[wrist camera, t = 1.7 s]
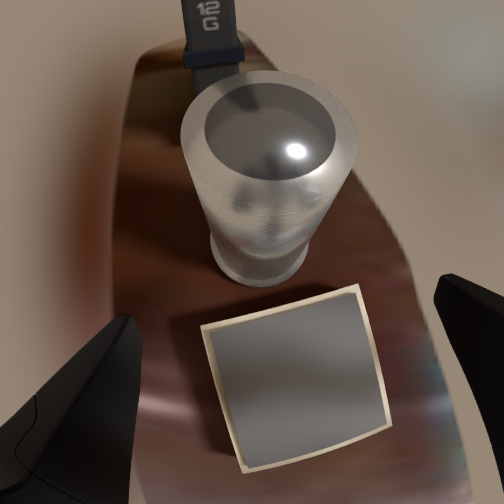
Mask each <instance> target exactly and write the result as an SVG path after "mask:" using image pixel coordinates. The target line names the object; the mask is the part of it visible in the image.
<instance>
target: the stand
mask: <svg viewBox="0 0 504 504" xmlns="http://www.w3.org/2000/svg"><path fill="white" fill-rule="evenodd" d="M200 327H201V332H202V336H203V340H204V344H205V348H206V352H207V356H208V360H209V363H210V367H211V371H212V375H213V378H214V382H215V386H216V389H217V393H218V396H219V400H220V403H221V407H222V410H223V414H224V417H225V420H226V424H227V427H228V430H229V433H230V437H231V440H232V443H233V446H234V449H235V452H236V455H237V458H238V461H239V464H240V467H241V470H242V473H243V474H244V473H249V472H255V471H259V470H264V469H268V468H273V467H277V466H281V465H285V464H289V463H292V462H296V461H300V460H303V459H306V458H310V457H313V456H316V455H319V454H322V453H325V452H328V451H331V450H334V449H337V448H340V447H342V446H345V445H348V444H350V443H353V442H356V441H358V440H361V439H363V438H365V437H368V436H370V435H373V434H375V433H377V432H379V431H382V430H384V429H386V428H388V427H390V426H392V422H391V416H390V411H389V406H388V400H387V395H386V391H385V386H384V381H383V377H382V372H381V368H380V363H379V359H378V355H377V351H376V347H375V343H374V339H373V335H372V331H371V327H370V324H369V320H368V316H367V313H366V309H365V306H364V302H363V299H362V295H361V292H360V289H359V285H358V284H355V285H352V286H348V287H345V288H342V289H338V290H335V291H332V292H328V293H325V294H322V295H318V296H315V297H311V298H308V299H304V300H301V301H297V302H293V303H290V304H286V305H282V306H279V307H275V308H271V309H267V310H263V311H260V312H256V313H252V314H248V315H244V316H240V317H236V318H231V319H227V320H223V321H219V322H214V323H210V324H206V325H201V326H200Z"/></svg>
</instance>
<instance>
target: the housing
mask: <svg viewBox="0 0 504 504" xmlns="http://www.w3.org/2000/svg"><path fill="white" fill-rule="evenodd" d="M180 136H181V145H182V149H183V153H184V156H185V159H186V162H187V165H188V168H189V171H190V173H191V176H192V179H193V182H194V185H195V188H196V191H197V194H198V197H199V199H200V202H201V205H202V208H203V211H204V214H205V216H206V219H207V222H208V225H209V228H210V230H211V236H210V243H211V249H212V253H213V256H214V258H215V260H216V262H217V264H218V266H219V267H220V269H221V270H222V271H223V273H224V274H225V275H226V276H228V277H229V278H230V279H231V280H233V281H234V282H236V283H238V284H240V285H243V286H246V287H251V288H269V287H273V286H276V285H279V284H281V283H283V282H285V281H286V280H288V279H289V278H290V277H292V276H293V275H294V274H295V273H296V271H297V270H298V269H299V268H300V266H301V264H302V263H303V261H304V259H305V257H306V254H307V251H308V245H309V240H310V239H311V237H312V235H313V234H314V232H315V230H316V229H317V227H318V225H319V224H320V222H321V220H322V219H323V217H324V215H325V214H326V212H327V210H328V209H329V207H330V205H331V203H332V202H333V200H334V198H335V197H336V195H337V193H338V191H339V190H340V188H341V186H342V184H343V183H344V181H345V179H346V177H347V176H348V174H349V172H350V170H351V169H352V167H353V165H354V162H355V159H356V157H357V152H358V135H357V130H356V127H355V123H354V121H353V119H352V117H351V115H350V113H349V112H348V110H347V109H346V107H345V106H344V105H343V104H342V103H341V102H340V100H339V99H338V98H336V97H335V96H334V95H333V94H332V93H331V92H329V91H328V90H326V89H325V88H324V87H322V86H320V85H319V84H317V83H315V82H313V81H311V80H309V79H306V78H303V77H301V76H298V75H294V74H290V73H285V72H279V71H250V72H244V73H239V74H236V75H232V76H229V77H227V78H224V79H222V80H220V81H218V82H216V83H214V84H212V85H211V86H209V87H208V88H206V89H205V90H204V91H203V92H201V93H200V94H199V95H198V96H197V97H196V98H195V100H194V101H193V102H192V103H191V105H190V106H189V108H188V109H187V111H186V113H185V116H184V118H183V121H182V125H181V134H180Z"/></svg>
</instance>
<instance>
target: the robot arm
mask: <svg viewBox="0 0 504 504" xmlns="http://www.w3.org/2000/svg"><path fill="white" fill-rule="evenodd" d="M434 304H435V307H436V309H437V311H438V314H439V316H440V318H441V321H442V324H443V326H444V329H445V331H446V334H447V336H448V339H449V341H450V344H451V346H452V348H453V350H454V352H455V354H456V356H457V358H458V360H459V363H460V365H461V367H462V369H463V372H464V374H465V376H466V378H467V381H468V383H469V385H470V388H471V390H472V393H473V395H474V398H475V400H476V403H477V405H478V408H479V410H480V413H481V416H482V419H483V421H484V424H485V427H486V430H487V433H488V436H489V439H490V442H491V445H492V449H493V453H494V456H495V460H496V463H497V467H498V471H499V475H500V479H501V483H502V488H503V492H504V297H503V296H501V295H499V294H497V293H494V292H492V291H490V290H488V289H486V288H484V287H482V286H479V285H477V284H475V283H473V282H471V281H468V280H466V279H464V278H462V277H459V276H457V275H454V274H451V273H450V274H445V275H442V276H441V277H440V278H439V282H438V284H437V288H436V291H435V294H434ZM141 359H142V336H141V334H140V331H139V329H138V327H137V324H136V322H135V319H134V317H133V316H132V315H130V314H124V315H117V316H116V317H115V318H114V319H113V320H111V321H110V322H109V323H108V324H107V325H106V326H105V327H104V328H103V329H102V330H101V331H100V332H99V333H98V334H96V335H95V336H94V337H93V338H92V339H91V340H90V341H89V342H88V343H87V344H86V345H85V346H84V347H82V348H81V349H80V350H79V351H78V352H77V353H76V354H75V355H74V356H73V357H72V358H71V359H70V360H69V361H68V362H67V363H66V364H65V365H64V366H63V367H62V368H61V369H60V370H59V371H58V372H57V373H56V374H54V376H52V377H51V378H50V379H49V380H48V381H47V382H46V383H45V384H44V385H43V386H42V387H41V388H40V389H39V391H37V392H36V395H33V396H32V397H31V399H29V400H28V401H27V403H26V404H24V405H23V406H22V407H21V408H20V410H18V411H17V412H16V413H15V414H14V415H13V416H12V417H11V418H10V419H9V420H8V421H7V422H6V423H5V424H3V425H2V426H1V427H0V504H128V501H129V483H130V471H131V460H132V450H133V440H134V432H135V424H136V416H137V409H138V402H139V394H140V380H141Z"/></svg>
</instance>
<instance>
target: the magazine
mask: <svg viewBox="0 0 504 504" xmlns="http://www.w3.org/2000/svg"><path fill="white" fill-rule="evenodd" d="M181 5H182V13H183V20H184V27H185V34H186V40H187V42H186V46H185V49H184V53H183V62H184V67H185V69H188V68H191V71H192V77H193V83H194V89H195V98H196V97H197V96H198V95H199V94H200V93H201V92H203V91H204V90H205V89H206V88H208V87H209V86H211V85H212V84H214V83H216V82H218V81H220V80H222V79H224V78H227V77H229V76H232V75H236V74H239V62H240V61H245V53H244V47H243V45H242V43H241V42H240V40H239V38H238V36H237V29H236V15H235V3H234V0H181Z"/></svg>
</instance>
